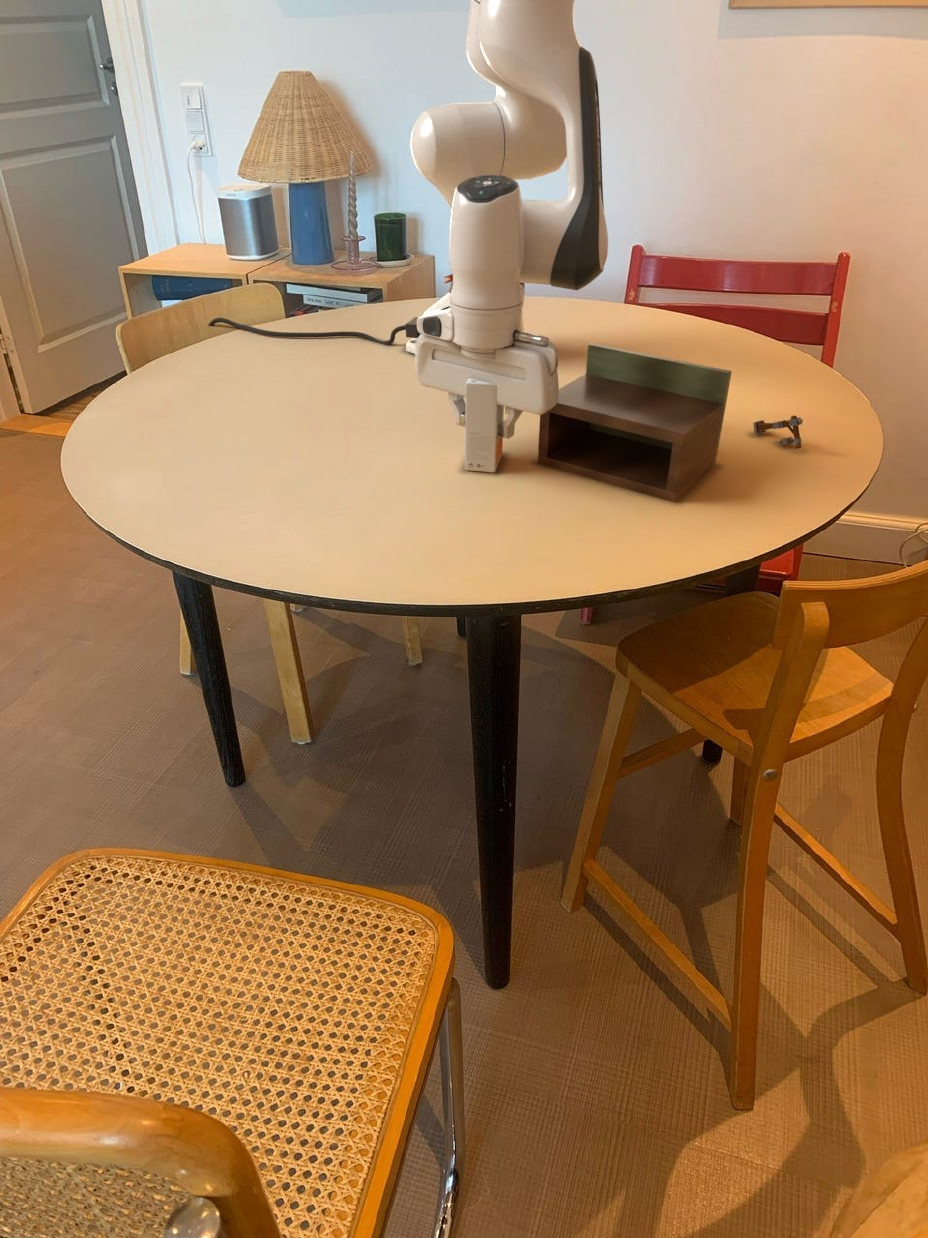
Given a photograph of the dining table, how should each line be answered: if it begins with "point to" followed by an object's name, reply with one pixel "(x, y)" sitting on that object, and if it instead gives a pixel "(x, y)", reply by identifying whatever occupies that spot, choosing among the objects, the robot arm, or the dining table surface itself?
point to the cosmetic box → (482, 426)
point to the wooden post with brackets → (794, 421)
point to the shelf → (637, 422)
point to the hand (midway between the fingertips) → (484, 430)
